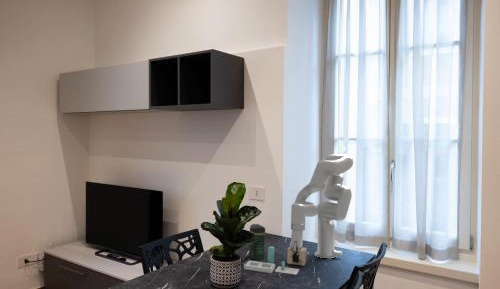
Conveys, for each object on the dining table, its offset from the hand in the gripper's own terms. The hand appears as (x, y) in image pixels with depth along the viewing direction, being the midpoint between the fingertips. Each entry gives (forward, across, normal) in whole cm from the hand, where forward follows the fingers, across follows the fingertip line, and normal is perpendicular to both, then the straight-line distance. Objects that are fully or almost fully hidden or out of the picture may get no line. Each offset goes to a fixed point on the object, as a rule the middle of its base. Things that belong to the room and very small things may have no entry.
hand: (296, 259), depth 187 cm
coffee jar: (+3, -2, -23) cm, 23 cm away
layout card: (+3, +12, -2) cm, 13 cm away
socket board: (+3, +15, -16) cm, 22 cm away
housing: (+2, 0, 0) cm, 2 cm away
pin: (+3, +5, -13) cm, 14 cm away
